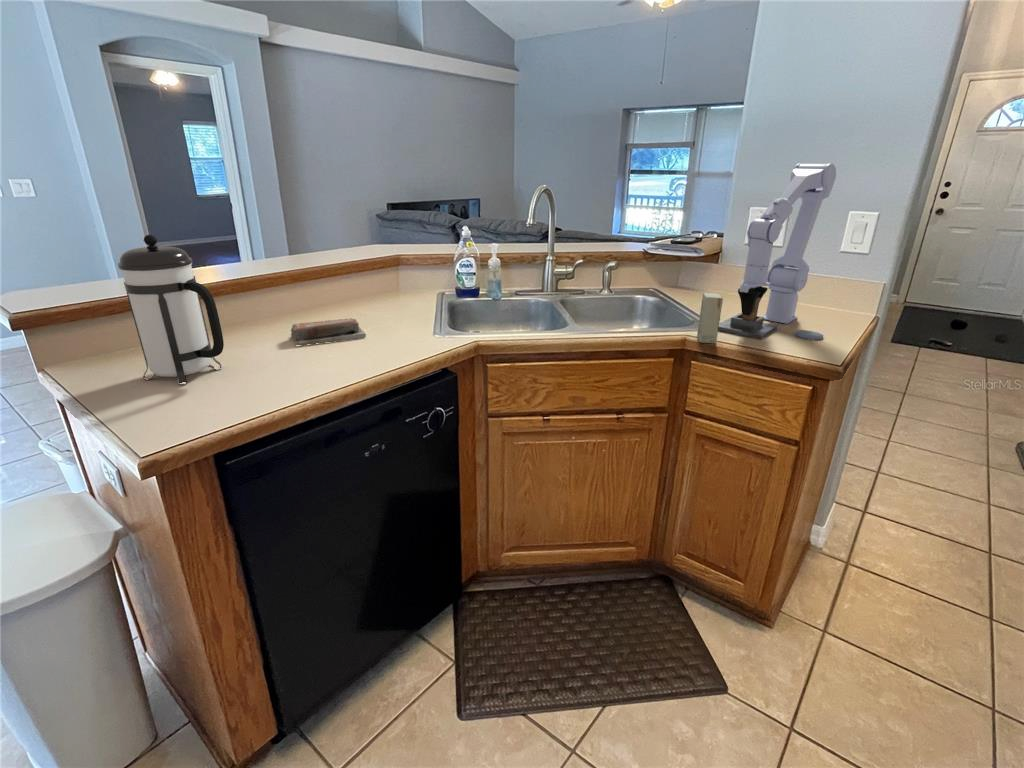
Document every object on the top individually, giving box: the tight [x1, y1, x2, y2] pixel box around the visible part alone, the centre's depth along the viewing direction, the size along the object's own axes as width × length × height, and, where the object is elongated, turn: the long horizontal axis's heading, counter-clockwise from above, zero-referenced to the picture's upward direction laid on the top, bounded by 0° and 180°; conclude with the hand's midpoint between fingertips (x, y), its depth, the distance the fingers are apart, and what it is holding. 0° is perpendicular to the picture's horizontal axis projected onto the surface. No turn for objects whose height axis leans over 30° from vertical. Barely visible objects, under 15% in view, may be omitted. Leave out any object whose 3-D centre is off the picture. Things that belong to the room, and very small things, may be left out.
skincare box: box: [696, 292, 724, 344], centre depth 140 cm, size 6×4×12 cm
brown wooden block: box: [742, 297, 761, 321], centre depth 149 cm, size 3×3×7 cm
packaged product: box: [290, 317, 367, 345], centre depth 142 cm, size 18×5×10 cm
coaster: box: [794, 329, 824, 341], centre depth 146 cm, size 7×7×1 cm
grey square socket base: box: [718, 312, 779, 341], centre depth 151 cm, size 13×13×4 cm
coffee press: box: [117, 234, 225, 384], centre depth 111 cm, size 17×16×30 cm
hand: (748, 313), depth 149 cm, fingers closed on brown wooden block, 3 cm apart
